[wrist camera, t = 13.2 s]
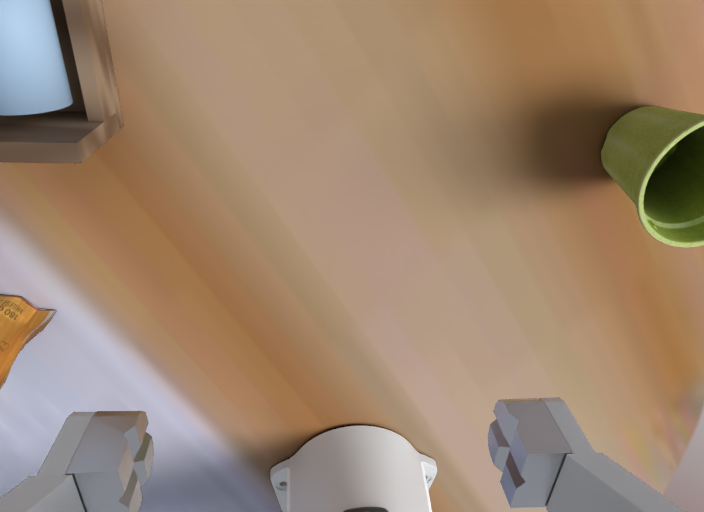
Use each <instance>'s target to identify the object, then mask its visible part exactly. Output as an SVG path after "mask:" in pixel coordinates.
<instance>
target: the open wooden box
mask: <svg viewBox="0 0 704 512" xmlns="http://www.w3.org/2000/svg"><path fill="white" fill-rule="evenodd" d="M50 3H51V8H52V12H53V17H54V21H55V25H56V30H57V34H58V38H59V43H60V47H61V51H62V56H63V60H64V64H65V69H66V73H67V77H68V82H69V86H70V90H71V95H72V99H73V103H72V104H71V105H70V106H68V107H65V108H62V109H59V110H55V111H50V112H45V113H38V114H28V115H0V162H23V163H82V162H84V161H85V160H86V159H87V158H88V157H89V156H90V155H91V154H93V153H94V152H95V151H96V150H97V149H98V148H99V147H100V146H102V145H103V144H104V143H105V142H106V141H107V140H108V139H109V138H110V137H112V136H113V135H114V134H115V133H116V132H117V131H118V130H119V129H121V128H122V127H123V126H124V124H123V118H122V113H121V107H120V102H119V96H118V91H117V86H116V80H115V75H114V69H113V64H112V58H111V53H110V47H109V42H108V36H107V31H106V25H105V20H104V14H103V9H102V3H101V0H50Z"/></svg>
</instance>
